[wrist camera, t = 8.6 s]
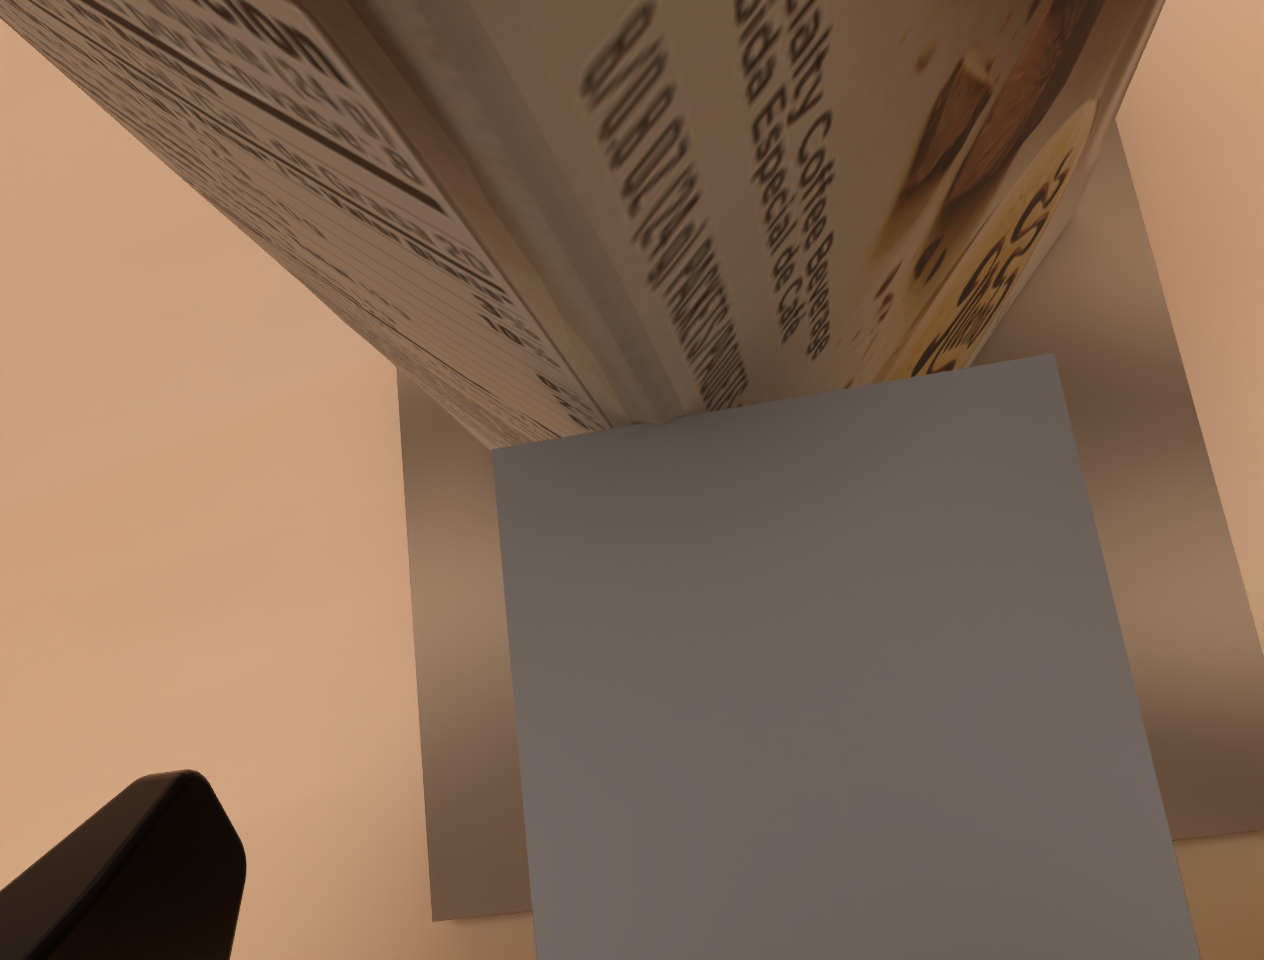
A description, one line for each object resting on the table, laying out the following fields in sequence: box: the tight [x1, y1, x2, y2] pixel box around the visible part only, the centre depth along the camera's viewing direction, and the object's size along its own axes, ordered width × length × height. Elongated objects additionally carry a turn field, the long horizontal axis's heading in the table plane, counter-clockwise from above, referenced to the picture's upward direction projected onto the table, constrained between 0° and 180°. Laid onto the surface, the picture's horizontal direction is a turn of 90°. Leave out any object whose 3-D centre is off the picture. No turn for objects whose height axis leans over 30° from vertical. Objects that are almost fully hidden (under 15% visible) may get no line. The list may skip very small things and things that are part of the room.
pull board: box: [396, 119, 1264, 960], centre depth 13 cm, size 15×13×13 cm
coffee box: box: [0, 0, 1165, 451], centre depth 11 cm, size 9×6×16 cm
